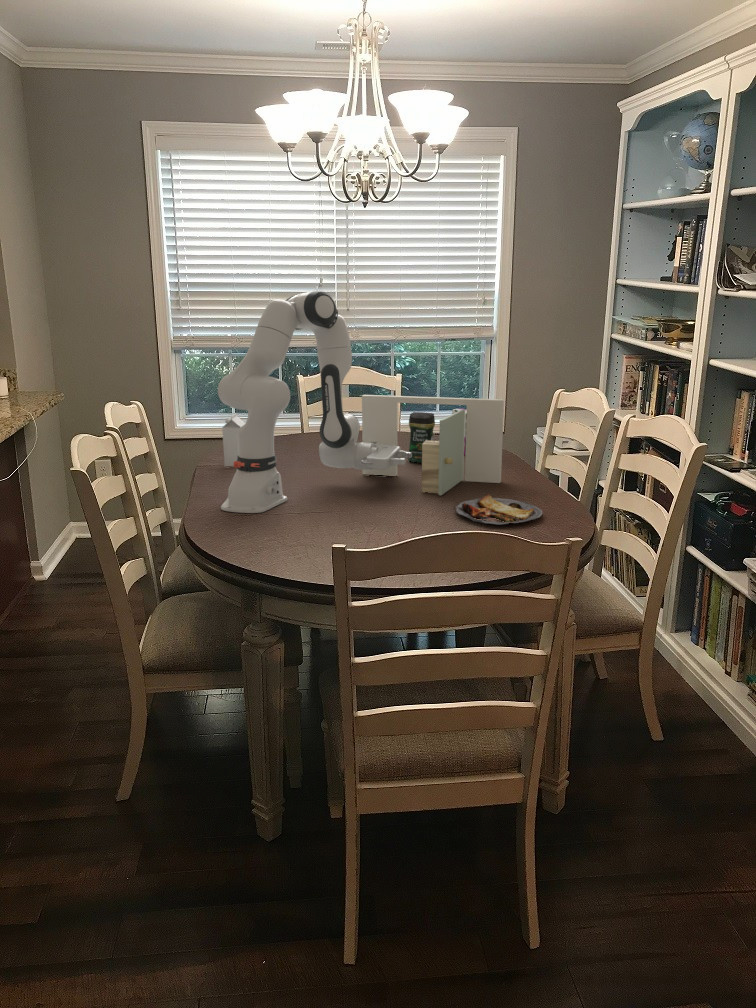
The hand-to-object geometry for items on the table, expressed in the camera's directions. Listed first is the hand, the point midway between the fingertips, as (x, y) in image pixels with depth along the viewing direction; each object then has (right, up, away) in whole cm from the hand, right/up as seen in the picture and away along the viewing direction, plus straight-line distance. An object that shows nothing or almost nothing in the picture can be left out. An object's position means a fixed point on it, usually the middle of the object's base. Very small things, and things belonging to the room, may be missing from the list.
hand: (408, 458), depth 262 cm
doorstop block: (+8, -10, +1) cm, 13 cm away
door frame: (+8, -6, +17) cm, 19 cm away
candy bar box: (+24, +6, +56) cm, 61 cm away
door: (+15, -9, +3) cm, 18 cm away
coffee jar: (+6, +1, +41) cm, 41 cm away
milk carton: (-62, -1, +36) cm, 72 cm away
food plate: (+25, -19, -25) cm, 40 cm away
